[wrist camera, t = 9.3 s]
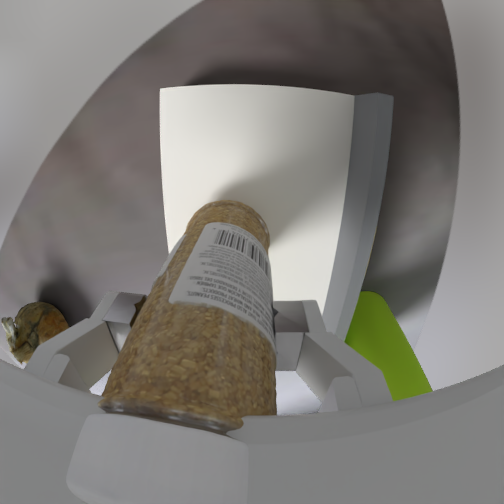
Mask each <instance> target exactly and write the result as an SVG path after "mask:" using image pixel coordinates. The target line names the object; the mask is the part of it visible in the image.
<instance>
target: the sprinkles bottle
mask: <svg viewBox="0 0 504 504" xmlns="http://www.w3.org/2000/svg"><path fill="white" fill-rule="evenodd" d="M269 246H270V235H269V231H268V228H267V225H266V223H265V221H264V220H263V219H262V217H261V216H260V215H259V214H258V213H257V212H256V211H255V210H254V209H253V208H251V207H250V206H248V205H245V204H243V203H241V202H238V201H232V200H220V201H215V202H210V203H207V204H205V205H204V206H202V207H201V208H200V209H199V210H198V211H196V212H195V213H194V215H193V217H192V218H191V219H190V221H189V222H188V224H187V227H186V231H185V233H184V234H183V236H182V237H181V238H180V239H179V240H178V242H177V243H176V245H175V246H174V248H173V249H172V251H171V253H170V254H169V256H168V258H167V259H166V261H165V263H164V265H163V266H162V268H161V270H160V272H159V273H158V275H157V277H156V279H155V281H154V283H153V286H152V289H151V293H150V294H149V295H148V297H147V300H146V302H145V303H144V304H143V307H142V308H141V310H140V312H139V314H138V316H137V318H136V320H135V322H134V324H133V326H132V328H131V331H130V332H129V334H128V336H127V338H126V340H125V342H124V345H123V347H122V350H121V351H120V353H119V355H118V358H117V361H116V362H115V364H114V366H113V368H112V370H111V374H110V376H109V378H108V381H107V384H106V386H105V390H104V392H103V393H102V395H101V396H103V397H104V398H105V399H102V400H101V401H100V402H98V407H99V408H101V409H102V410H104V411H106V413H101V414H91V415H89V416H88V417H87V418H86V420H85V422H84V425H83V427H82V430H81V432H80V435H79V438H78V440H77V443H76V446H75V449H74V452H73V455H72V458H71V462H70V465H69V468H68V472H67V476H66V483H67V486H68V488H69V489H70V491H71V492H72V493H73V494H74V495H75V496H77V497H78V498H79V499H81V500H82V501H84V502H86V503H88V504H247V494H248V446H247V444H246V443H244V442H242V441H239V440H237V439H234V438H232V437H230V436H228V435H227V434H226V433H227V432H228V431H232V430H237V429H240V428H241V427H242V426H243V424H244V422H243V420H242V419H241V418H242V417H244V416H248V415H254V416H263V415H277V408H276V389H275V388H276V378H275V370H276V366H277V350H276V341H275V334H274V323H273V322H274V315H273V310H272V300H273V287H272V274H271V265H270V261H269V256H268V249H269ZM107 412H108V413H107Z"/></svg>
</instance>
